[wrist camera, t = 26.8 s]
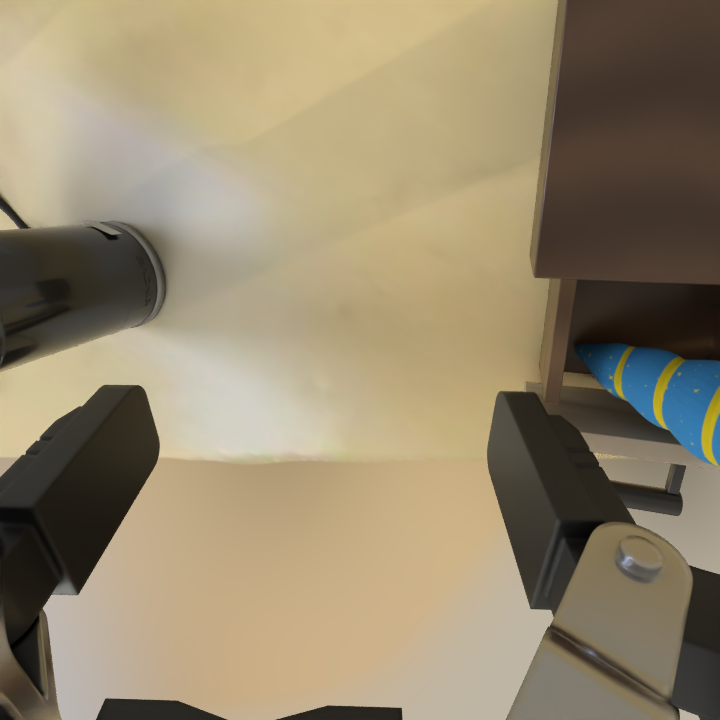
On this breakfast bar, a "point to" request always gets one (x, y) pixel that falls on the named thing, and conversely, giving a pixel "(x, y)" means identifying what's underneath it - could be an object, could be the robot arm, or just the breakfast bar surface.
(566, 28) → the cabinet
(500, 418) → the robot arm
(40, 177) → the breakfast bar surface
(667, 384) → the ornament
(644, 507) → the drawer
